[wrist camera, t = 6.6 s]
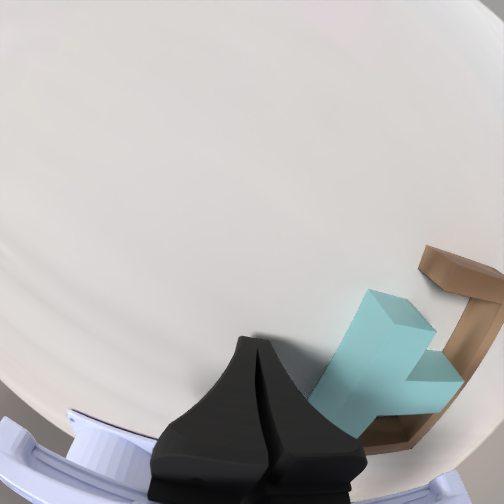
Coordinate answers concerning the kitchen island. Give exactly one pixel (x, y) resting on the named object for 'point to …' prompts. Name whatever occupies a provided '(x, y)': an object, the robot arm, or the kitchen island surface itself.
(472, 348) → the wooden drawer handle
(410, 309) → the t block
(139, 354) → the kitchen island surface
